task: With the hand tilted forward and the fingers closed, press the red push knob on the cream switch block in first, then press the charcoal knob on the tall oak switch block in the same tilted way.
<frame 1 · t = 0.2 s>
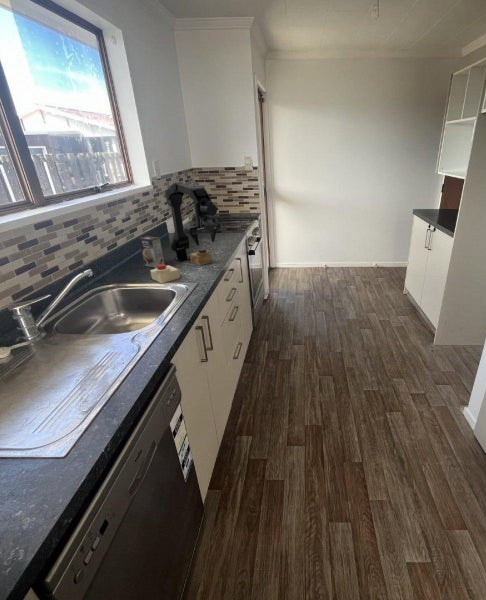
hand: (205, 243, 173), 15 cm above the worktop, tool pointing down, fingers open, 9 cm apart
oak block: (201, 262, 190), on the worktop
coffee box: (155, 265, 186), on the worktop
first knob: (161, 267, 162), point 7 cm above the worktop, slide at 0.1 cm
cream block: (166, 278, 168), on the worktop
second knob: (202, 250, 185), point 7 cm above the worktop, slide at 0.1 cm
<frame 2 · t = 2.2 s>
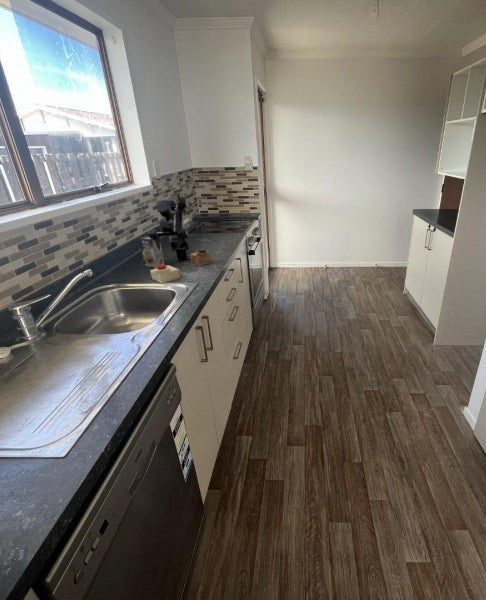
hand: (168, 249, 168), 14 cm above the worktop, tool tilted 40°, fingers open, 9 cm apart
nothing on the worktop moved.
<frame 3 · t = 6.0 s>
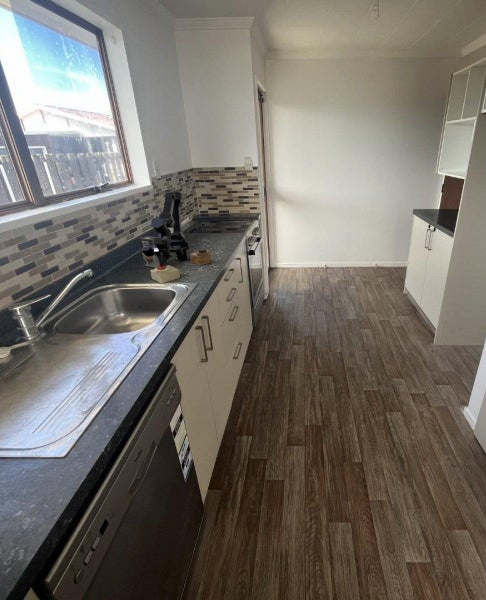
hand: (161, 266, 162), 8 cm above the worktop, tool tilted 45°, fingers closed, pressing on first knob
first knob: (161, 268, 163), point 6 cm above the worktop, slide at -0.8 cm, touching gripper
everything else where it was.
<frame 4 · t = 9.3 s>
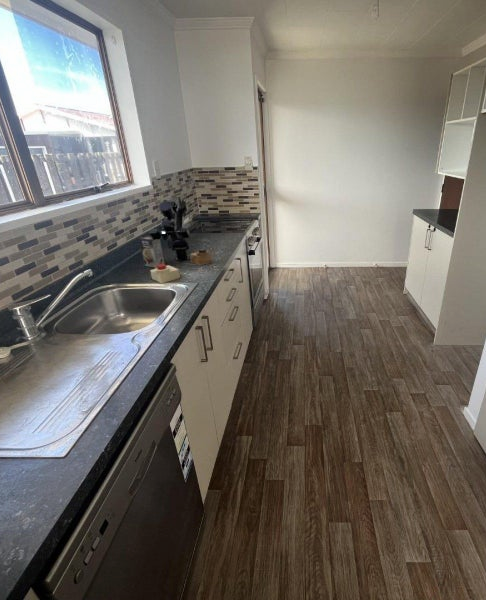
hand: (169, 248, 169), 14 cm above the worktop, tool tilted 45°, fingers closed
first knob: (161, 267, 162), point 7 cm above the worktop, slide at 0.1 cm
everything else where it was.
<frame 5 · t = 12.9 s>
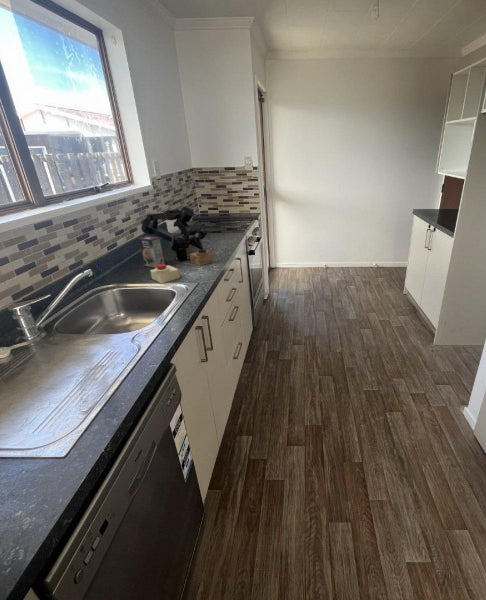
hand: (202, 249, 185), 9 cm above the worktop, tool tilted 45°, fingers closed, pressing on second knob
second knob: (202, 251, 185), point 7 cm above the worktop, slide at 0.0 cm, touching gripper
everything else where it was.
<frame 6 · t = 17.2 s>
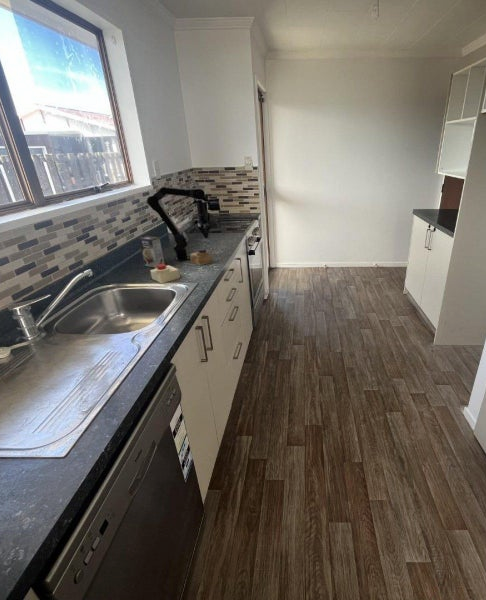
hand: (206, 238, 193), 12 cm above the worktop, tool pointing down, fingers closed
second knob: (202, 250, 185), point 7 cm above the worktop, slide at 0.1 cm
everything else where it was.
at the end: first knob pushed in 1.3 cm at the most during the clip, back to where it started at the end; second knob pushed in 1.3 cm at the most during the clip, back to where it started at the end; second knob slide at 0.1 cm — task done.
